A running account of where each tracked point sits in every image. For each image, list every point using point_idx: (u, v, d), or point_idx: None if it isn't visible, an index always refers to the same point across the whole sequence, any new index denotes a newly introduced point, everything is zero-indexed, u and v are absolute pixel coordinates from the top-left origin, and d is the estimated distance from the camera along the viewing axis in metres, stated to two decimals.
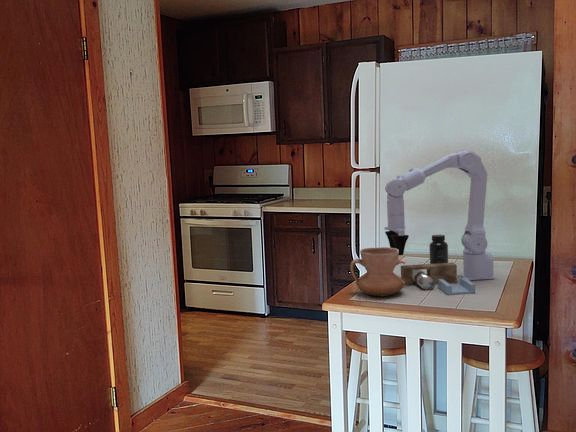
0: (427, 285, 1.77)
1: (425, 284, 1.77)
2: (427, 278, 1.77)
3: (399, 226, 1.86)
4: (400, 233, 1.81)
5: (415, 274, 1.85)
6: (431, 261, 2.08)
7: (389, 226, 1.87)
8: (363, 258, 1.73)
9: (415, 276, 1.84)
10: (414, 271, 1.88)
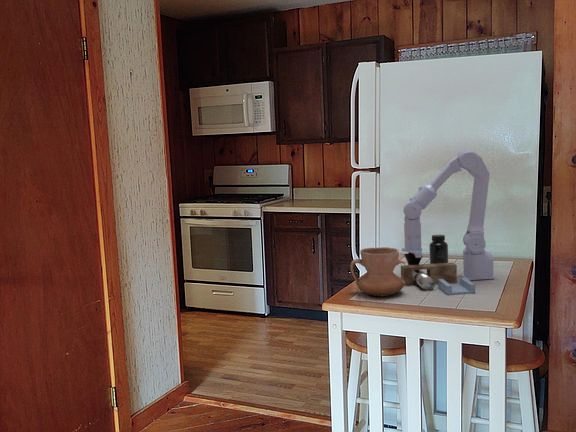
0: (427, 285, 1.77)
1: (425, 284, 1.76)
2: (427, 278, 1.76)
3: (416, 248, 1.90)
4: (417, 255, 1.86)
5: (415, 275, 1.84)
6: (431, 261, 2.08)
7: (406, 248, 1.92)
8: (363, 258, 1.73)
9: (415, 276, 1.84)
10: (414, 271, 1.87)
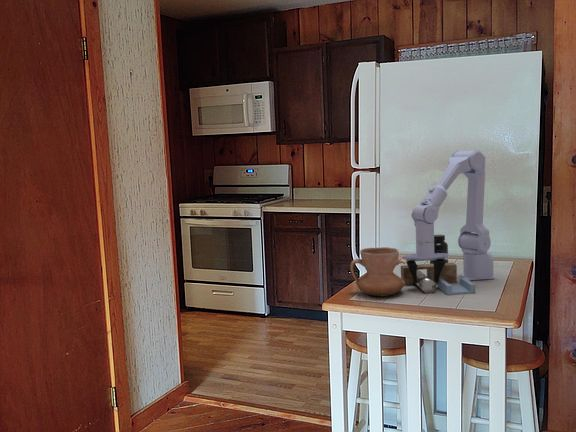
0: (429, 289, 1.73)
1: (427, 288, 1.73)
2: (427, 282, 1.73)
3: (417, 254, 1.77)
4: None
5: None
6: (431, 261, 2.08)
7: None
8: (363, 258, 1.73)
9: None
10: None
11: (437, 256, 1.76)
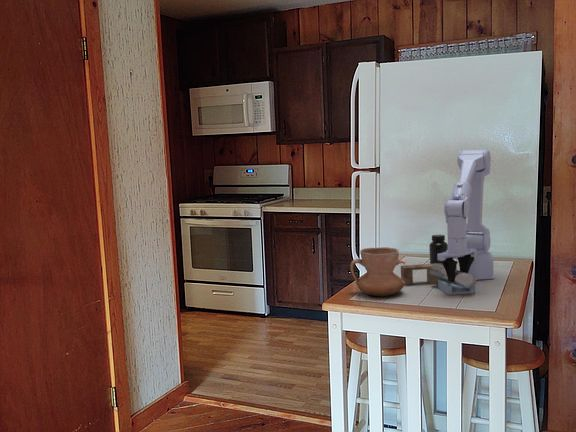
0: (470, 284, 1.68)
1: (468, 282, 1.68)
2: (470, 276, 1.68)
3: (451, 251, 1.70)
4: (438, 257, 1.69)
5: None
6: (431, 261, 2.08)
7: None
8: (363, 258, 1.73)
9: None
10: (442, 268, 1.77)
11: (470, 252, 1.72)
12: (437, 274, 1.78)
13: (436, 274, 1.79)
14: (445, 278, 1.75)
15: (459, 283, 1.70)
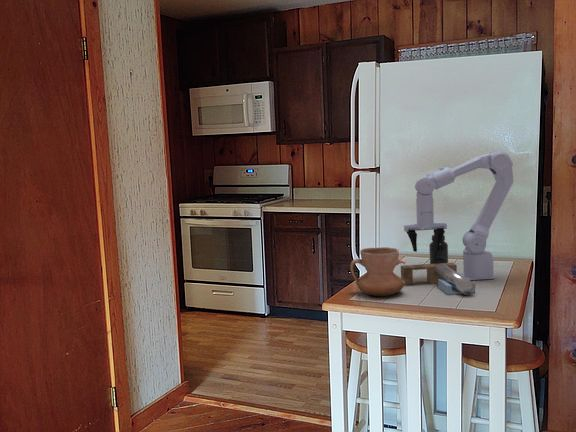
0: (467, 290, 1.68)
1: (466, 288, 1.68)
2: (470, 283, 1.67)
3: (417, 223, 1.89)
4: (404, 228, 1.90)
5: (451, 274, 1.74)
6: (431, 261, 2.08)
7: None
8: (363, 258, 1.73)
9: (450, 276, 1.74)
10: (447, 269, 1.77)
11: (436, 225, 1.88)
12: (440, 274, 1.78)
13: (439, 273, 1.79)
14: (446, 279, 1.75)
15: (457, 286, 1.70)
